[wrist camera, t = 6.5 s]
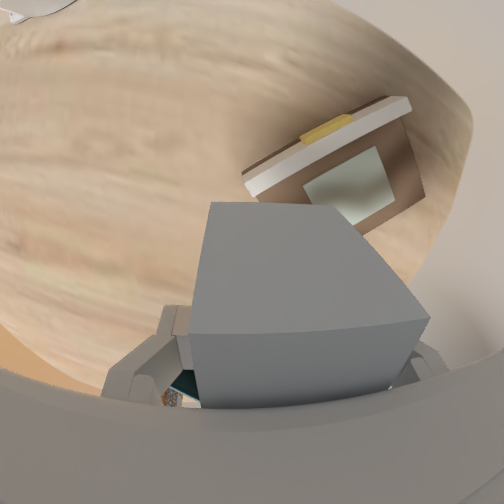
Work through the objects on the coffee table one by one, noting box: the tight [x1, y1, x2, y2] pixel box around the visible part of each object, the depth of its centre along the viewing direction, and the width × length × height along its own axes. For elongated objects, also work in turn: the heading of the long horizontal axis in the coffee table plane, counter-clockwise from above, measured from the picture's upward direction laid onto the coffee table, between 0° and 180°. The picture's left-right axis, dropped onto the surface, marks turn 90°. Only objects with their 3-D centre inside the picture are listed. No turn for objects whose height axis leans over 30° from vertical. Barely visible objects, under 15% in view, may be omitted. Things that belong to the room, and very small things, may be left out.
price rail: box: [242, 96, 413, 197], centre depth 23 cm, size 2×18×3 cm, turn 122°
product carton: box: [188, 202, 431, 409], centre depth 10 cm, size 5×8×7 cm
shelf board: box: [242, 96, 425, 236], centre depth 27 cm, size 13×18×2 cm
